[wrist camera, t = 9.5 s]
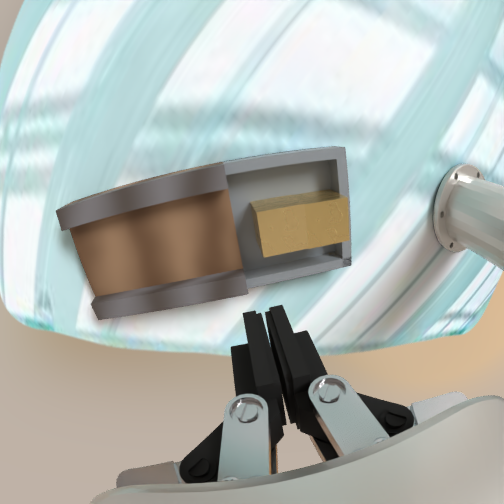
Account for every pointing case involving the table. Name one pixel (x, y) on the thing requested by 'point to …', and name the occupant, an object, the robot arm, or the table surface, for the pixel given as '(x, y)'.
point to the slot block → (158, 242)
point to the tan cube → (325, 217)
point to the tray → (281, 184)
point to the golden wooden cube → (279, 225)
